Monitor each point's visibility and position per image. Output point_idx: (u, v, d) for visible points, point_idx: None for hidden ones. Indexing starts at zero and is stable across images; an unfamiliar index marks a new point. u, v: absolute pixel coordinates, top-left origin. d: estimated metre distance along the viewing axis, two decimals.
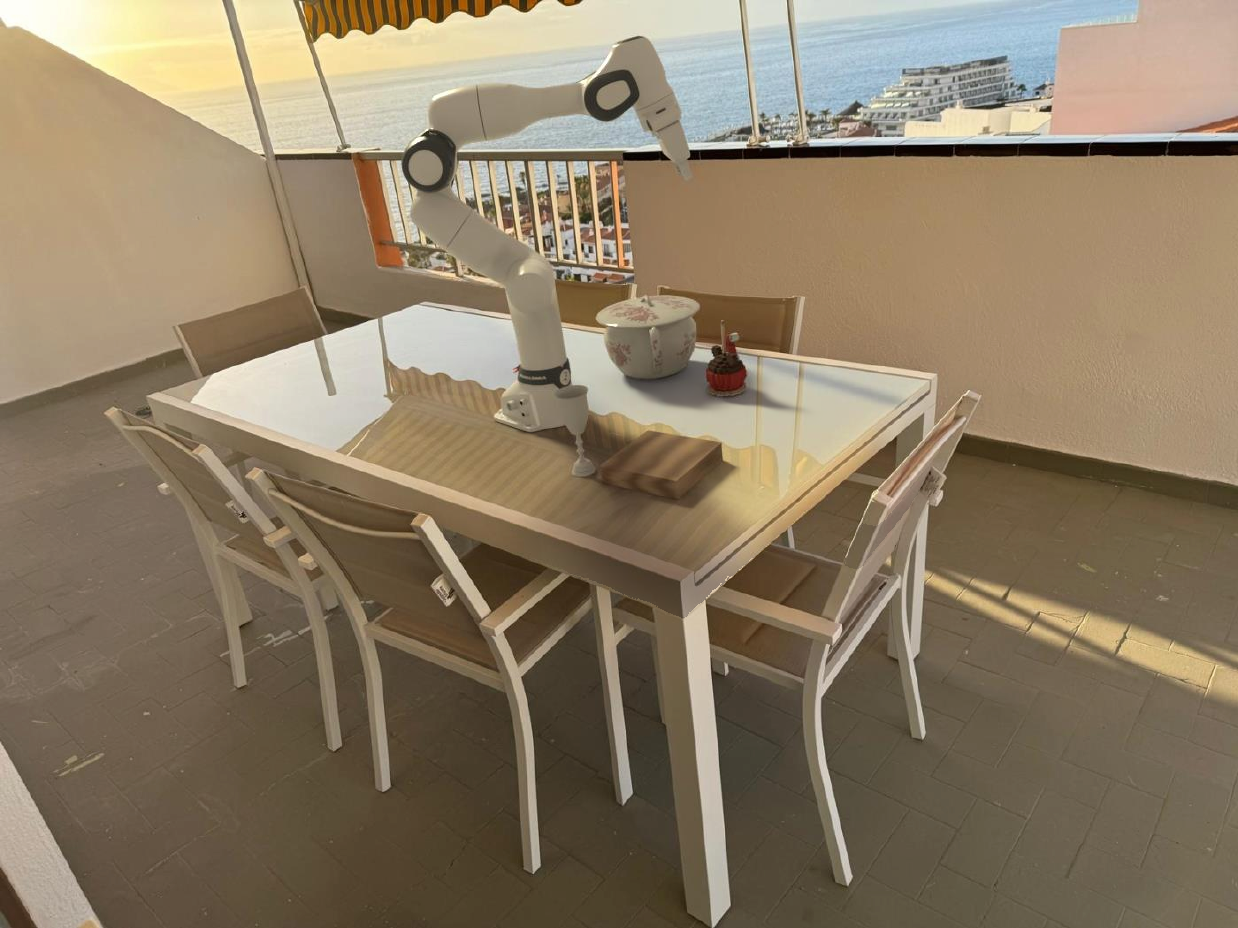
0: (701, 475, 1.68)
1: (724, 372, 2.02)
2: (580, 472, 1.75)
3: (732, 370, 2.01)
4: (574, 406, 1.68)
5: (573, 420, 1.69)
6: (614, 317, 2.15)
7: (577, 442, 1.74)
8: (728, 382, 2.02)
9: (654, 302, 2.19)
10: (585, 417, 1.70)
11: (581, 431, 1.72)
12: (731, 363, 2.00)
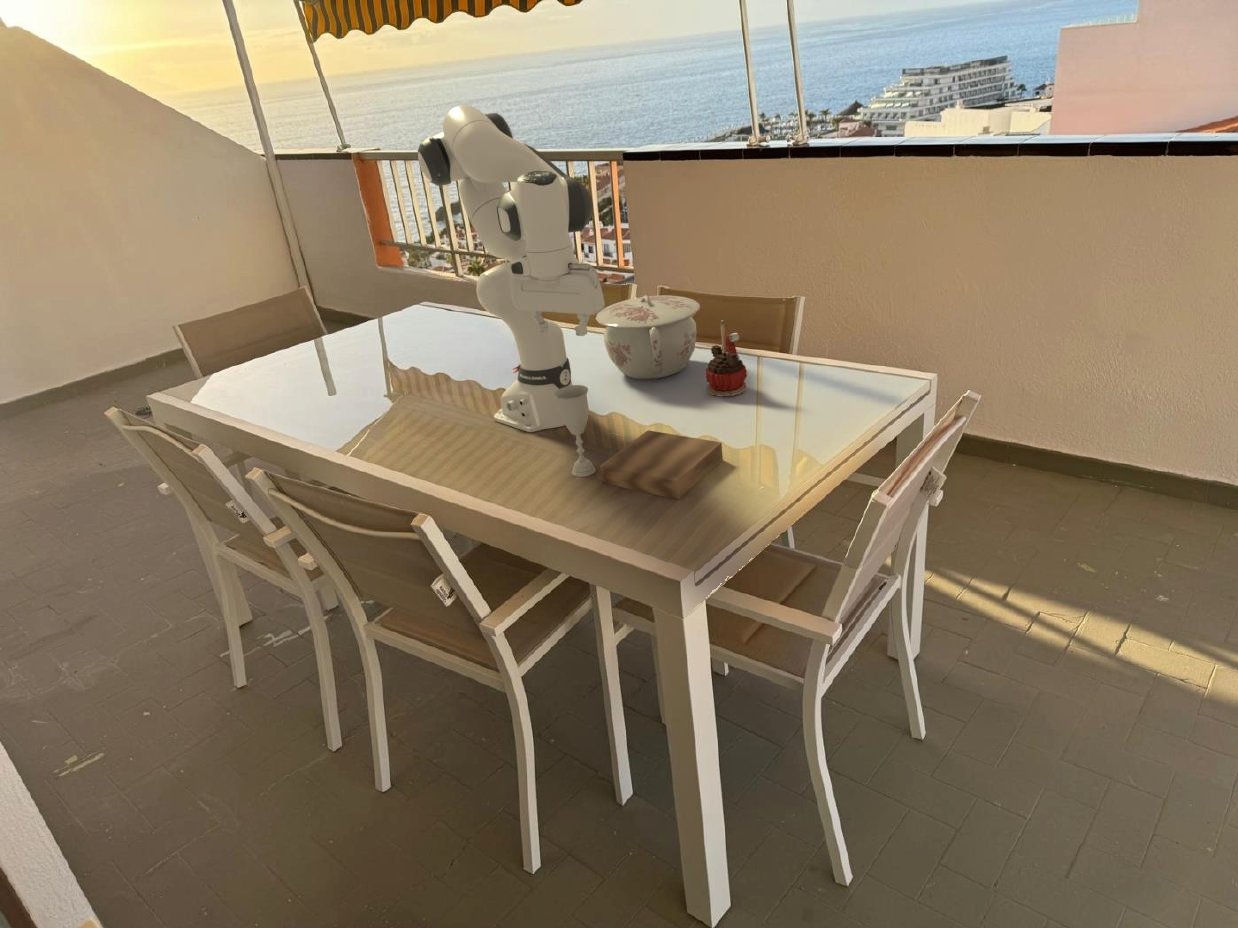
0: (701, 475, 1.68)
1: (724, 372, 2.02)
2: (580, 472, 1.75)
3: (732, 370, 2.01)
4: (574, 406, 1.68)
5: (573, 420, 1.69)
6: (614, 317, 2.15)
7: (577, 442, 1.74)
8: (728, 382, 2.02)
9: (654, 302, 2.19)
10: (585, 417, 1.70)
11: (581, 431, 1.72)
12: (731, 363, 2.00)
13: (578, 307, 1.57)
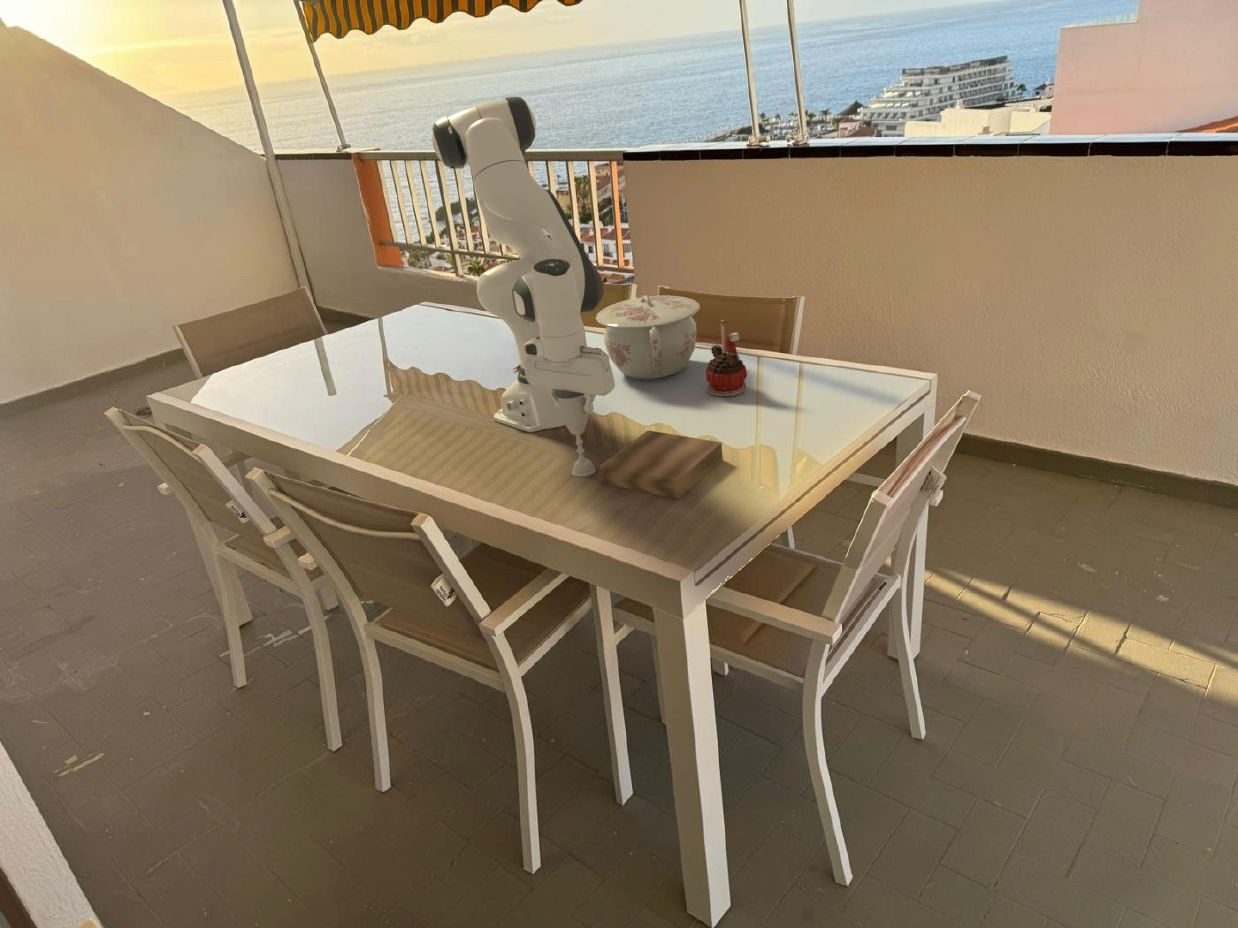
0: (701, 475, 1.68)
1: (724, 372, 2.02)
2: (580, 472, 1.75)
3: (732, 370, 2.01)
4: (574, 406, 1.68)
5: (573, 420, 1.69)
6: (614, 317, 2.15)
7: (577, 442, 1.74)
8: (728, 382, 2.02)
9: (654, 302, 2.19)
10: (585, 417, 1.70)
11: (581, 431, 1.72)
12: (731, 363, 2.00)
13: (589, 388, 1.64)
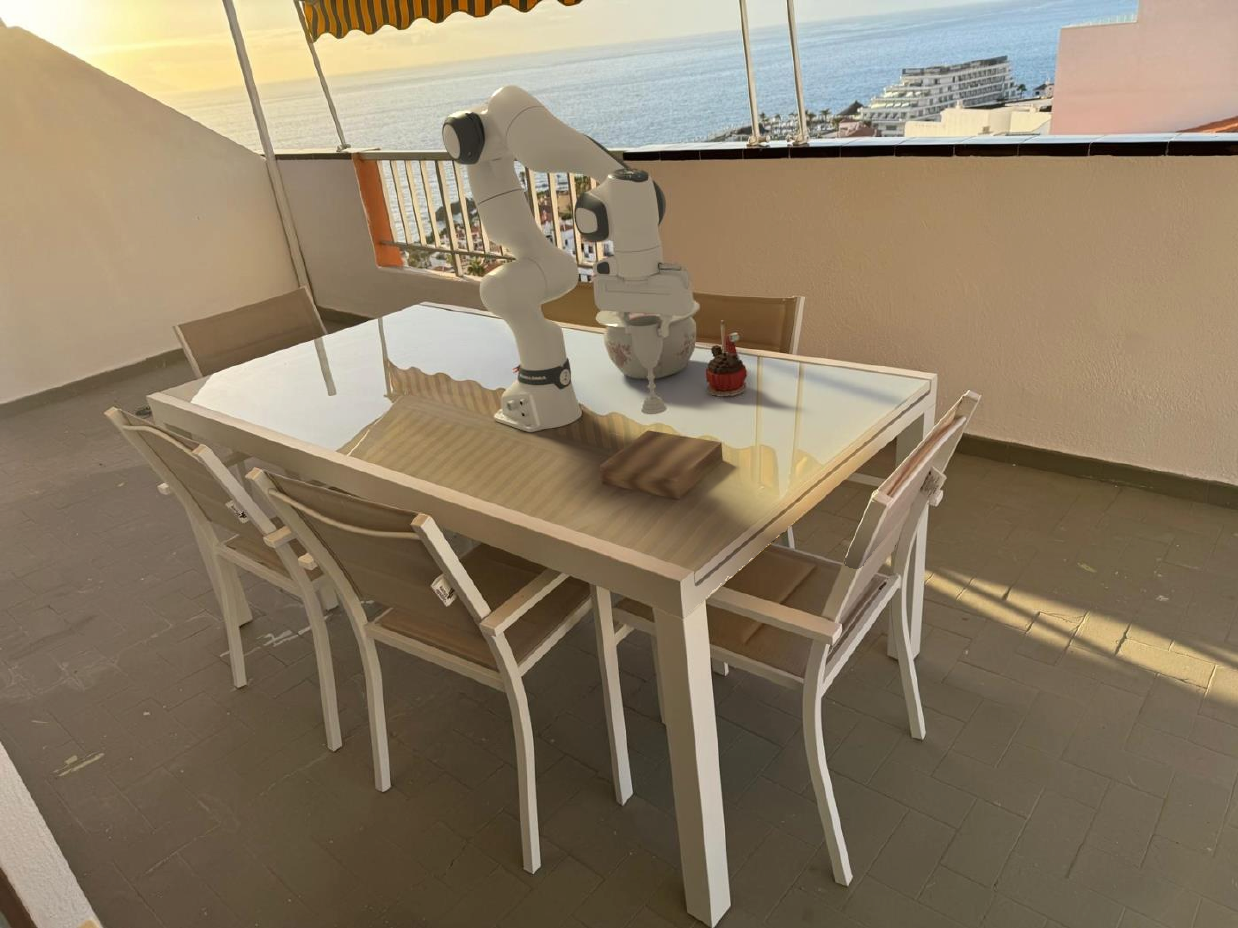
0: (701, 475, 1.68)
1: (724, 372, 2.02)
2: (651, 409, 1.64)
3: (732, 370, 2.01)
4: (650, 335, 1.57)
5: (648, 351, 1.58)
6: (614, 317, 2.15)
7: (649, 377, 1.63)
8: (728, 382, 2.02)
9: None
10: (660, 348, 1.59)
11: (654, 364, 1.61)
12: (731, 363, 2.00)
13: (667, 308, 1.53)
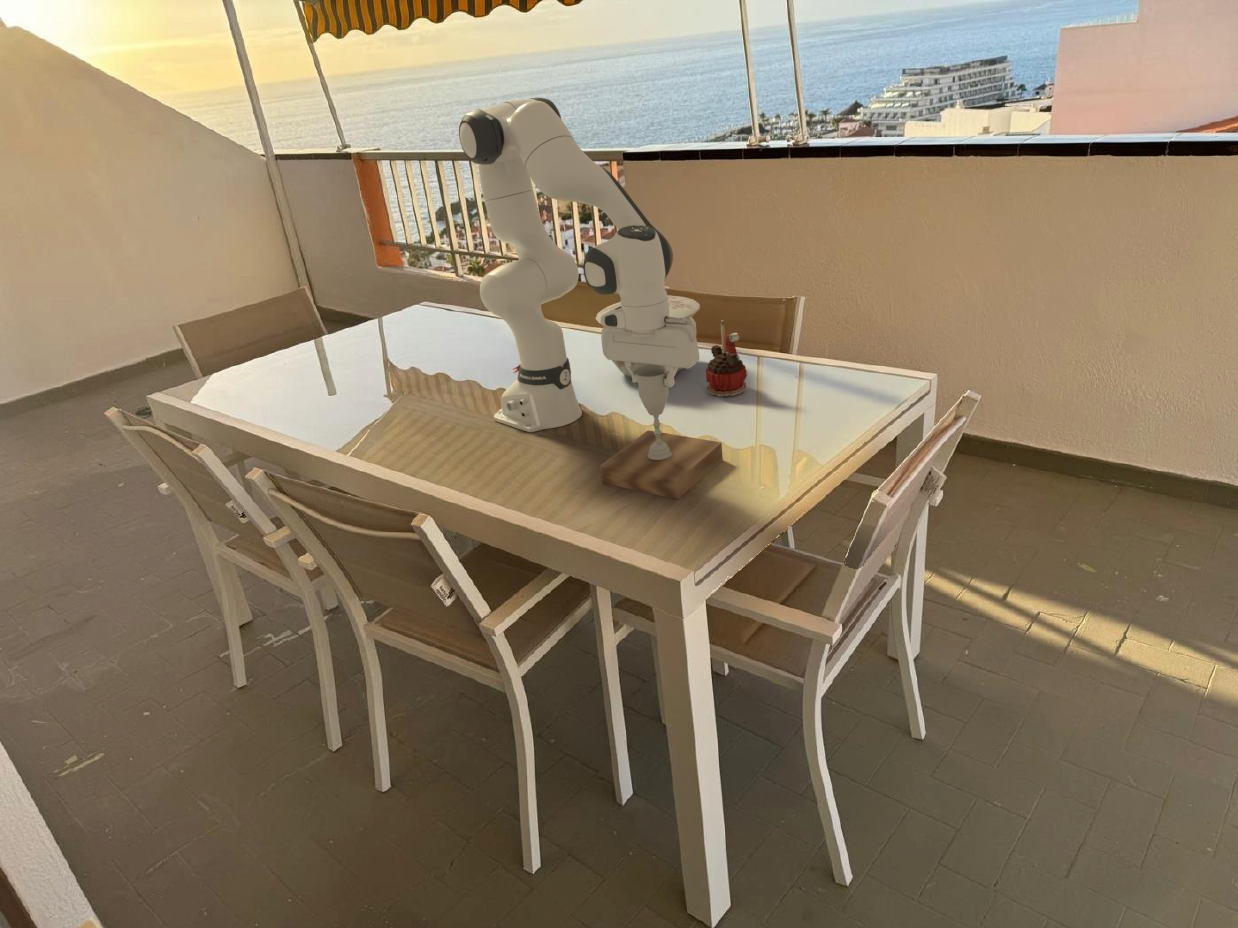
0: (701, 475, 1.68)
1: (724, 372, 2.02)
2: (657, 455, 1.69)
3: (732, 370, 2.01)
4: (656, 385, 1.61)
5: (654, 400, 1.63)
6: None
7: (655, 424, 1.67)
8: (728, 382, 2.02)
9: None
10: (666, 397, 1.64)
11: (660, 412, 1.66)
12: (731, 363, 2.00)
13: (673, 361, 1.57)
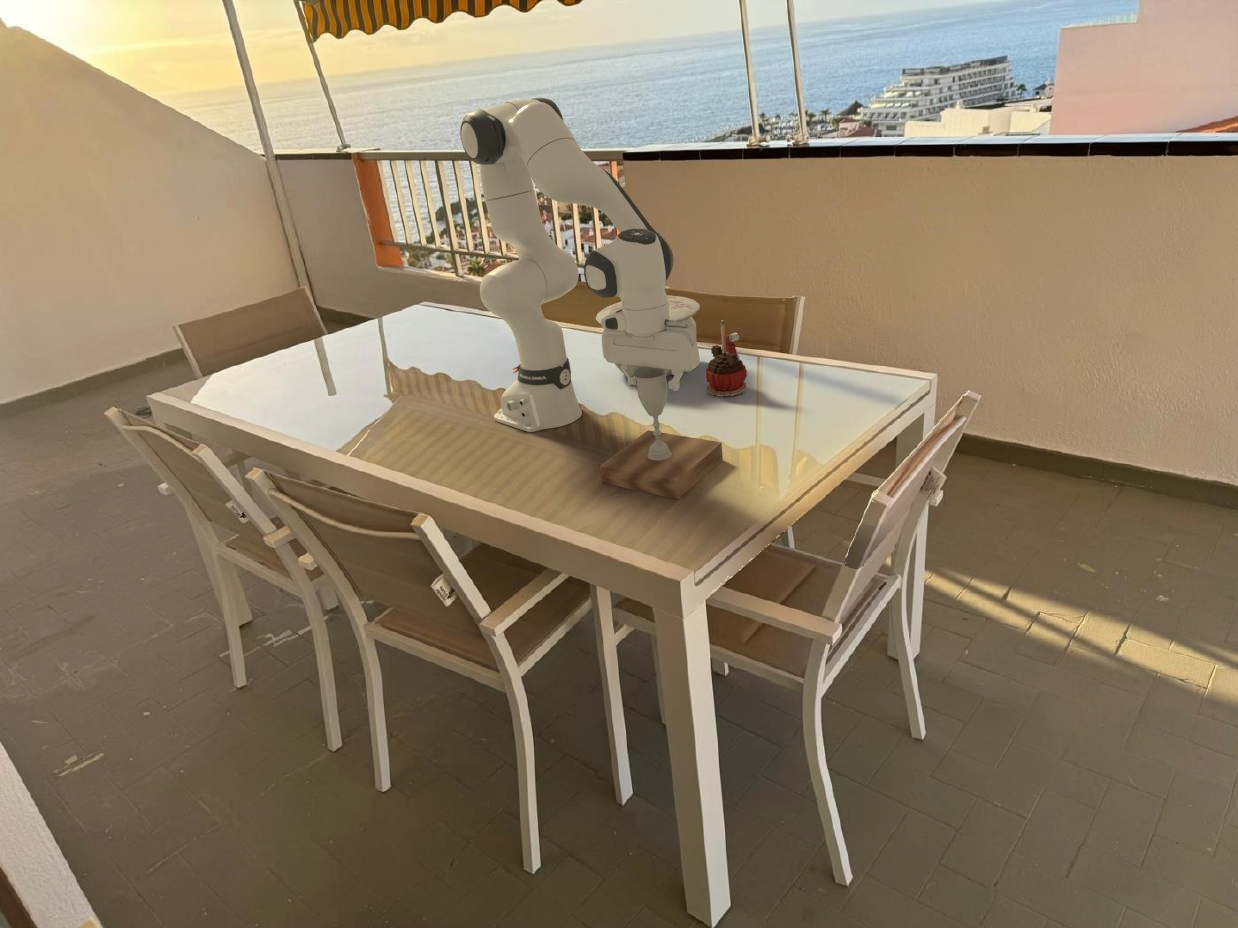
0: (701, 475, 1.68)
1: (724, 372, 2.02)
2: (657, 455, 1.69)
3: (732, 370, 2.01)
4: (655, 386, 1.61)
5: (653, 401, 1.62)
6: None
7: (654, 424, 1.67)
8: (728, 382, 2.02)
9: None
10: (665, 398, 1.64)
11: (660, 413, 1.65)
12: (731, 363, 2.00)
13: (673, 364, 1.57)
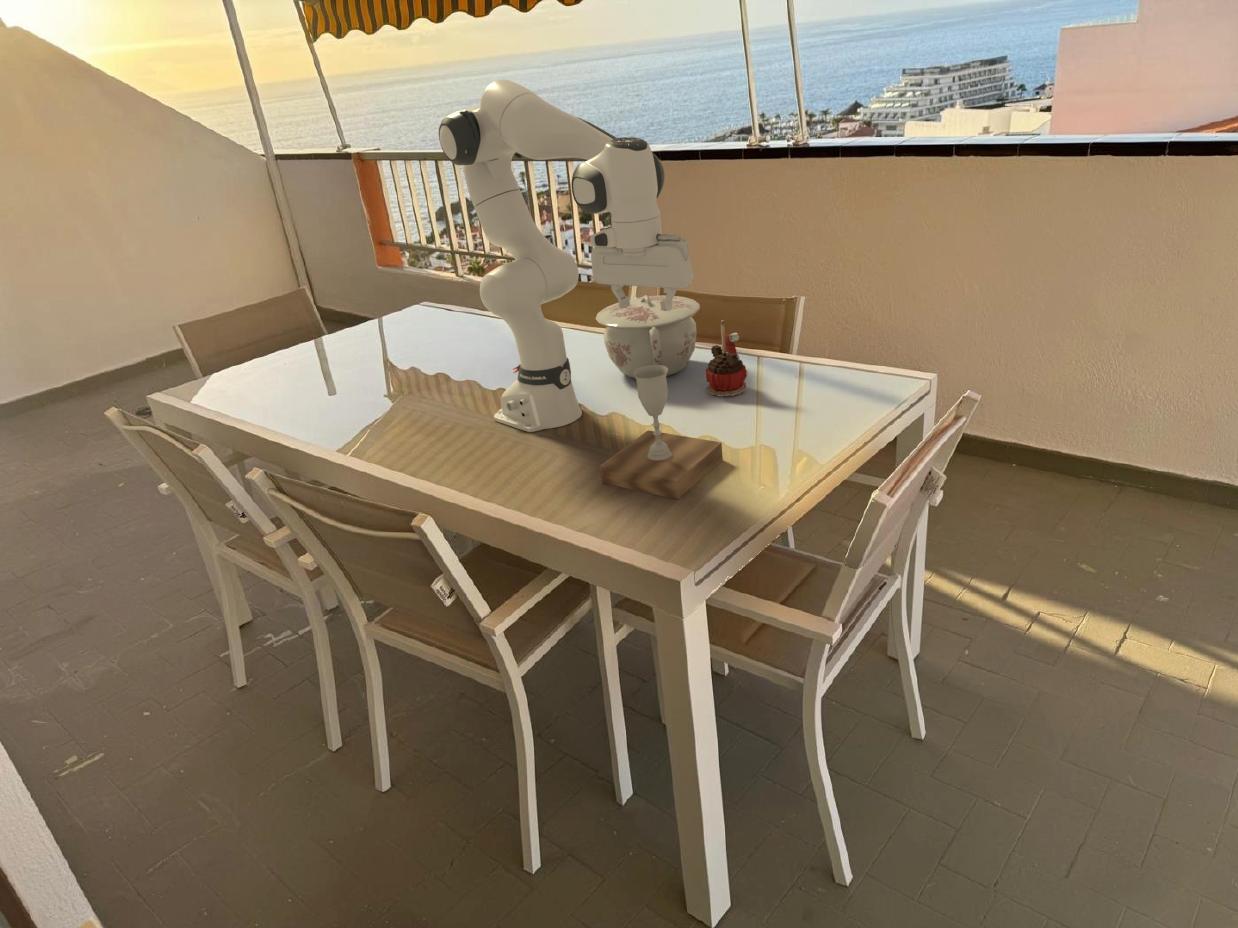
0: (701, 475, 1.68)
1: (724, 372, 2.02)
2: (657, 455, 1.69)
3: (732, 370, 2.01)
4: (655, 386, 1.61)
5: (653, 401, 1.62)
6: (614, 317, 2.15)
7: (654, 424, 1.67)
8: (728, 382, 2.02)
9: (654, 302, 2.19)
10: (665, 398, 1.64)
11: (660, 413, 1.65)
12: (731, 363, 2.00)
13: (666, 281, 1.50)
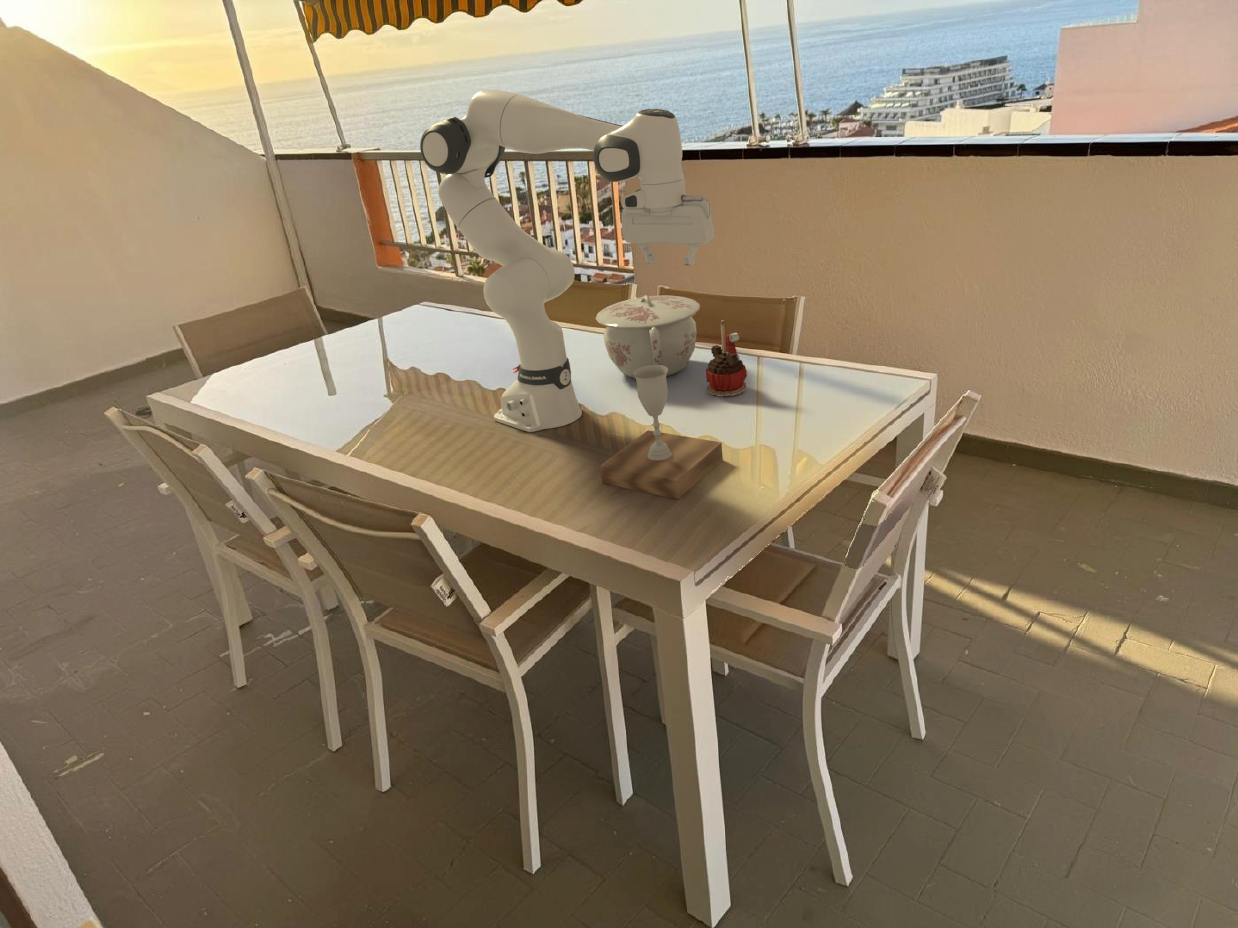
0: (701, 475, 1.68)
1: (724, 372, 2.02)
2: (657, 455, 1.69)
3: (732, 370, 2.01)
4: (655, 386, 1.61)
5: (653, 401, 1.62)
6: (614, 317, 2.15)
7: (654, 424, 1.67)
8: (728, 382, 2.02)
9: (654, 302, 2.19)
10: (665, 398, 1.64)
11: (659, 413, 1.65)
12: (731, 363, 2.00)
13: (689, 237, 1.68)
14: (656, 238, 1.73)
